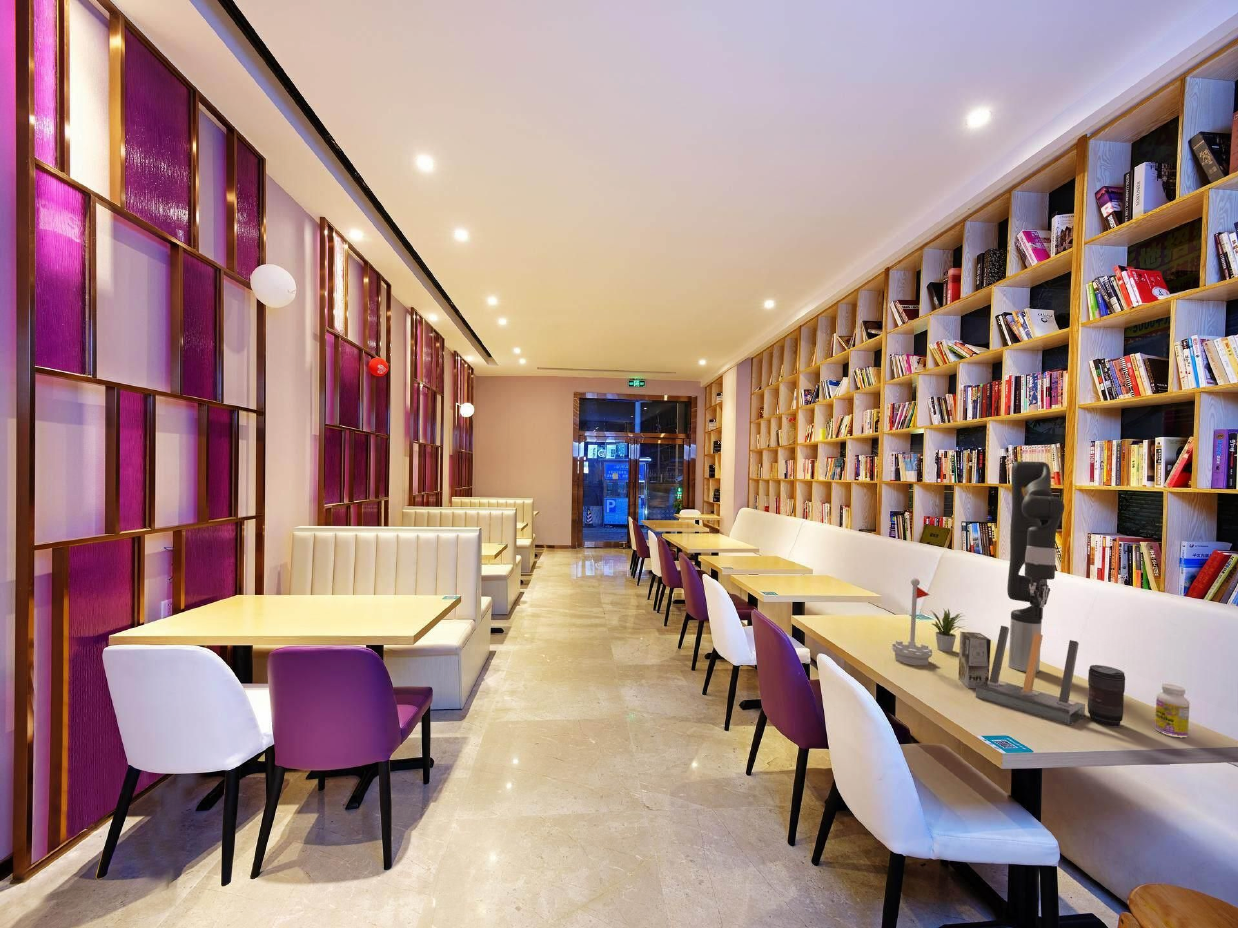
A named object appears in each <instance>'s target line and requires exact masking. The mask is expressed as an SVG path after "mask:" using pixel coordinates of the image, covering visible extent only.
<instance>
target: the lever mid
mask: <svg viewBox="0 0 1238 928" xmlns="http://www.w3.org/2000/svg"><path fill="white" fill-rule="evenodd" d="M1043 637H1044V636H1043V634H1042V633H1041V634H1039V633H1034V636H1033V641H1032V646H1031V651H1030V656H1029V661H1028V666H1027V671H1026V672H1025V677H1024V683H1023V686H1022V687H1023V690H1021V694H1022V695H1025V696H1029V697H1033V693H1032V690H1034V689H1033V687H1034V684H1035V678H1036V674H1037V672H1036V668H1037V663H1038V658H1039V652H1040V653H1041V647H1042V643H1043V642H1042V641H1043Z"/></svg>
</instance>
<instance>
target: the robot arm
mask: <svg viewBox="0 0 1238 928" xmlns="http://www.w3.org/2000/svg"><path fill="white" fill-rule="evenodd" d="M1051 473H1052V472H1051V468H1050V465H1049V464H1048V463H1047V462H1045V461H1030V460H1029V461H1024V460H1022V461H1014V462H1013V464H1012V466H1011V476H1010V477H1011V504H1012V505H1011V519H1010V530H1009V531H1010V533H1009V535H1010V537H1009V539H1010V541H1009V547H1010V550H1009V567H1008V576H1007V588H1006V589H1007V596H1008V598H1009V599H1010V600H1011V601H1012V600H1014V601H1016V602H1017V601H1019V602H1025V603H1026V602H1027V603H1029V606H1027V607H1024V608H1019V609H1013V610H1011V612H1010V628H1009V646H1008V650H1009V651H1008V667H1009V668H1011V669H1012V670H1016V671H1020V672H1024V673H1026V671H1027V666H1028V661H1029V656H1030V651H1031V646H1032V641H1033V636H1034V633H1039V634H1042V622H1043V621H1042V620H1043V613H1044V607H1045V605H1047V602H1048V598H1049V595H1050V591H1051V588H1050V587H1049V584H1048V580H1054V579H1056V560H1057V559H1056V557H1057V556H1056V537H1057V530H1058V527H1059V525H1060V521H1061V520H1062V517H1063V515H1064V512H1065V503H1064V501H1063V500H1062V499H1061V498H1060V497H1057V496H1053V493H1052V489H1051V486H1052V477H1051V476H1052V474H1051ZM1024 488H1025V490H1024V493H1023V489H1024ZM1041 520H1046V521H1048V522H1047V523H1046V524H1044V525H1042V521H1041ZM1023 566H1024V575H1023V574H1022V575H1020V574H1019V573H1020V571H1021V569H1022V567H1023ZM1040 663H1041V651H1040V652H1039V658H1038V663H1037V668H1036V673H1040Z"/></svg>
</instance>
